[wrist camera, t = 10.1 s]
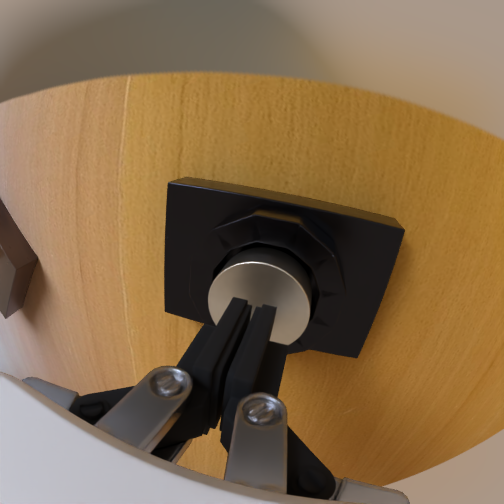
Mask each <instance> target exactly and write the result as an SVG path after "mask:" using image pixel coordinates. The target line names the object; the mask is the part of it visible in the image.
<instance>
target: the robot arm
mask: <svg viewBox="0 0 504 504" xmlns="http://www.w3.org/2000/svg"><path fill="white" fill-rule="evenodd" d="M276 311H277V307H274V306H270V305H266V304H263V305H262V307H258V306H256V308H255V311H254V313H253V315H252V318H251V312H252V305H249V304H248V300H245V299H241V298H237V297H233V298H232V300H231V301H230V303H229V305H228V306H227V308H226V310H225V312H224V313H223V315H222V317H221V318H220V320H219V322H218V324H217V325H216V327H215V326H211V325H207V324H204V325H203V326H202V328H201V329H200V331H199V332H198V334H197V335H196V337H195V338H194V340H193V341H192V343H191V344H190V346H189V347H188V349H187V351H186V352H185V354H184V355H183V357H182V358H181V360H180V361H179V363H178V364H177V366H176V367H175V366H161V367H158V368H155V369H153V370H152V371H150V372H149V373H148V374H147V375H146V376H145V377H144V378H143V379H142V380H141V381H140V382H139V383H138V384H137V385H136V386H131V387H126V388H121V389H116V390H110V391H104V392H98V393H92V394H87V395H84V396H79V394H78V392H75V391H72V390H69V389H66V388H63V387H60V386H58V385H55V384H52V383H49V382H47V381H44V380H41V379H39V378H35V377H28V378H25V379H23V380H19V379H17V378H15V377H13V376H11V375H8V374H6V373H2V372H0V504H410V502H409V500H408V498H407V496H406V495H404V493H402V492H400V491H398V490H394V489H389V488H384V487H380V486H376V485H372V484H368V483H364V482H360V481H356V480H353V479H349V478H346V477H344V478H343V479H340V478H336V477H334V476H333V475H332V473H331V472H330V471H329V470H328V469H327V468H326V466H325V465H324V464H323V463H322V462H321V461H320V460H319V459H318V458H317V457H316V456H315V455H314V454H313V453H312V452H311V451H310V450H309V448H308V447H307V446H306V445H305V444H304V443H303V442H302V441H301V440H300V439H299V437H298V436H297V435H296V434H295V433H294V432H293V431H292V430H291V429H290V427H289V426H288V425H287V409H286V406H285V405H284V403H283V402H282V401H281V400H280V399H279V398H277V396H278V392H279V387H280V383H281V379H282V374H283V370H284V365H285V361H286V356H287V351H288V346H289V345H286V344H281V343H277V342H273V341H270V337H271V333H272V329H273V324H274V320H275V315H276ZM250 318H251V320H250ZM220 417H221V422H220V431H222V432H221V439H220V442H221V443H222V445H223V446H224V448H225V449H226V451H227V452H228V456H227V462H226V469H225V475H224V480H221V479H218V478H215V477H211V476H208V475H205V474H202V473H199V472H196V471H193V470H190V469H187V468H184V467H182V466H179V465H176V463H177V462H178V461H179V459H180V458H181V456H182V455H183V454H184V452H185V451H186V450H187V448H188V447H189V446H190V444H191V442H192V440H193V438H196V437H199V436H202V434H205V435H207V434H208V431H209V429H210V428H213V429H215V428H216V427H217V424H218V422H219V420H220Z"/></svg>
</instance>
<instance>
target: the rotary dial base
mask: <svg viewBox="0 0 504 504" xmlns="http://www.w3.org/2000/svg"><path fill="white" fill-rule="evenodd" d="M37 259H38V257H37V256H36V254H35V253H34V252H33V250H32V249H31V247H30V246H29V244H28V243H27V241H26V240H25V238H24V237H23V235H22V234H21V232H20V231H19V229H18V228H17V226H16V224H15V223H14V221H13V219H12V218H11V216H10V215H9V213H8V211H7V209H6V208H5V206H4V204H3V203H2V201H1V199H0V311H1V313H2V314H3V316H4V317H5V319H6V318H8V317H9V316H11V315H12V314H13V313H15V312H16V311H18V310H19V309H20V308H22V306H23V302H24V299H25V295H26V292H27V289H28V286H29V282H30V279H31V276H32V273H33V270H34V268H35V265H36V262H37Z"/></svg>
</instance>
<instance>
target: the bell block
mask: <svg viewBox="0 0 504 504" xmlns="http://www.w3.org/2000/svg"><path fill="white" fill-rule="evenodd" d="M404 232H405V229H404V228H403V227H402V226H401V225H400V224H399V222H398V221H397V220H396V219H395V218H392V217H388V216H384V215H380V214H376V213H372V212H368V211H364V210H360V209H355V208H351V207H347V206H342V205H338V204H334V203H329V202H325V201H320V200H315V199H311V198H306V197H301V196H296V195H291V194H286V193H281V192H275V191H270V190H265V189H259V188H254V187H248V186H242V185H236V184H230V183H224V182H218V181H212V180H205V179H198V178H192V177H184V178H180V179H177V180H174V181H171V182H168V188H167V205H166V226H165V266H164V296H165V312H167V313H171V314H174V315H177V316H180V317H184V318H187V319H190V320H194V321H197V322H201V323H204V324H207V325H211V326H215V327H216V324H215V323H214V321H213V319H212V317H211V314H210V311H209V306H208V295H209V290H210V287H211V285H212V283H213V281H214V280H215V278H216V277H217V275H218V274H219V273H220V272H221V270H222V269H223V268H224V266H225V265H226V264H227V262H228V261H229V260H230V259H231V258H232V257H233V256H235V255H236V254H238V253H240V252H241V251H244V250H246V249H250V248H256V247H268V248H273V249H277V250H280V251H282V252H285V253H287V254H288V255H290V256H292V257H293V258H294V259H296V260H297V261H298V262H299V263H300V264H301V265H302V267H303V268H304V269H305V271H306V272H307V274H308V276H309V279H310V282H311V286H312V300H311V310H310V317H309V322H308V324H307V327H306V329H305V330H304V332H303V333H302V334H301V336H300V337H299V338H298V339H297V340H295V341H294V342H292V343H291V344H289V346H288V351H287V354H292V353H298V352H303V351H306V350H308V349H310V350H315V351H320V352H325V353H330V354H335V355H341V356H346V357H352V358H358V356H359V354H360V352H361V350H362V347H363V345H364V343H365V341H366V338H367V336H368V334H369V331H370V329H371V326H372V324H373V322H374V319H375V317H376V314H377V312H378V309H379V306H380V304H381V301H382V299H383V296H384V293H385V290H386V288H387V285H388V282H389V279H390V276H391V273H392V270H393V268H394V265H395V261H396V258H397V255H398V252H399V249H400V246H401V242H402V239H403V236H404Z"/></svg>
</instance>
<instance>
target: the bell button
mask: <svg viewBox="0 0 504 504" xmlns="http://www.w3.org/2000/svg"><path fill="white" fill-rule="evenodd" d="M233 297H237V298H241V299H245V300H248V304H249V305H252V312H251V318H252V315H253V313H254V311H255V308H256V306H258V307H262V305H263V304H266V305H270V306H274V307H277V311H276V315H275V320H274V324H273V329H272V333H271V337H270V341H273V342H277V343H281V344H286V345H289V344H291V343H292V342H294V341H295V340H297V339H298V338H299V337H300V336H301V334H302V333H303V332H304V330H305V329H306V327H307V324H308V322H309V317H310V310H311V300H312V286H311V282H310V279H309V276H308V274H307V272H306V271H305V269H304V268H303V267H302V265H301V264H300V263H299V262H298V261H297V260H296V259H294V258H293V257H292V256H290V255H288V254H287V253H285V252H282V251H280V250H277V249H273V248H268V247H256V248H250V249H246V250H244V251H241V252H240V253H238V254H236V255H235V256H233V257H232V258H231V259H230V260H229V261H228V262H227V264H226V265H225V266H224V268H223V269H222V270H221V272H220V273H219V274H218V275H217V277H216V278H215V280H214V281H213V283H212V285H211V287H210V290H209V295H208V306H209V311H210V314H211V317H212V319H213V321H214V323H215V324H216V325H217V324H218V322H219V320H220V318H221V317H222V315H223V313H224V312H225V310H226V308H227V306H228V305H229V303H230V301H231V300H232V298H233ZM251 318H250V320H251Z"/></svg>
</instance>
